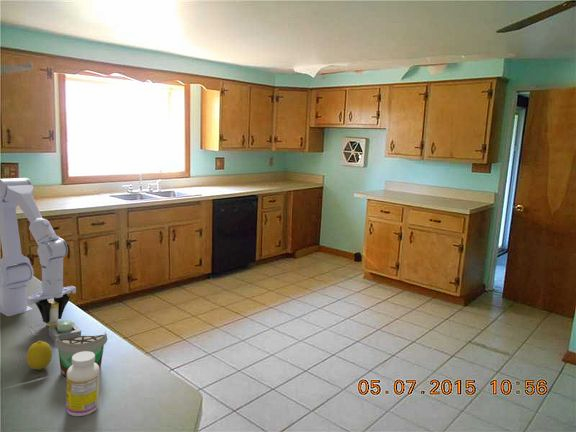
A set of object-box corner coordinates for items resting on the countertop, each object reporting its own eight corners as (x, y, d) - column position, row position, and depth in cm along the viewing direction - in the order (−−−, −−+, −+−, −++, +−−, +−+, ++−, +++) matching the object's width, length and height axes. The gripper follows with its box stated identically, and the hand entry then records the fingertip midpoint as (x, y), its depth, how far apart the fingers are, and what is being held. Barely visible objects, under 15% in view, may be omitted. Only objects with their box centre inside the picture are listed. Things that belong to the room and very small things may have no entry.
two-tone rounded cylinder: (43, 324, 135) (43, 303, 133) (54, 321, 138) (54, 300, 136) (50, 327, 133) (50, 306, 132) (60, 324, 136) (61, 303, 135)
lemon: (56, 366, 113) (56, 337, 112) (42, 377, 108) (42, 347, 107) (36, 363, 114) (36, 334, 112) (21, 374, 108) (21, 344, 107)
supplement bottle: (73, 399, 101) (74, 348, 98) (102, 400, 101) (104, 349, 99) (60, 417, 94) (61, 362, 92) (92, 418, 95) (93, 364, 93)
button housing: (48, 334, 129) (48, 326, 129) (73, 329, 134) (73, 322, 133) (55, 343, 124) (55, 336, 123) (80, 338, 129) (81, 330, 128)
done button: (55, 330, 129) (55, 322, 128) (70, 327, 131) (70, 319, 131) (59, 335, 126) (59, 327, 125) (74, 332, 128) (74, 324, 128)
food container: (54, 386, 105) (54, 347, 103) (54, 373, 110) (54, 336, 108) (108, 377, 111) (109, 341, 109) (106, 365, 116) (107, 331, 114)
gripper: (36, 287, 125) (36, 331, 127) (82, 276, 137) (81, 316, 139) (22, 281, 128) (22, 324, 130) (68, 271, 140) (68, 310, 143)
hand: (52, 320), depth 135 cm, fingers closed on two-tone rounded cylinder, 3 cm apart
